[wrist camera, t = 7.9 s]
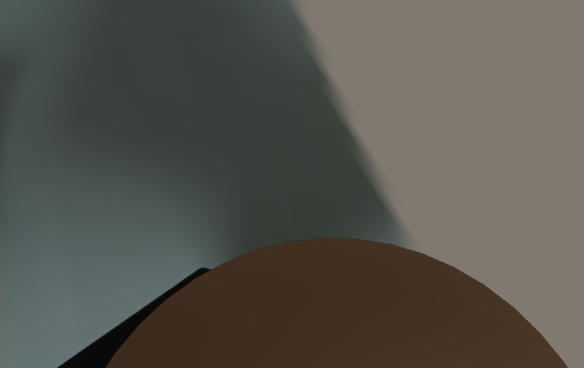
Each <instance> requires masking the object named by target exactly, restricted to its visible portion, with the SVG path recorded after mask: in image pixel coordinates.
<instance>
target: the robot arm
mask: <svg viewBox="0 0 584 368" xmlns="http://www.w3.org/2000/svg"><path fill="white" fill-rule="evenodd" d="M210 270H212V269H208V268H204V267H203V268H200V269H198V270H197V271H195V272H194V273H192V274H191V275H189V276H188V277H187V278H185V279H184V280H182V281H181V282H179V283H178V284H176V285H175V286H174V287H172V288H171V289H169V290H168V291H166V292H165V293H164V294H162V295H161V296H159V297H158V298H156V299H155V300H154V301H152V302H151V303H149V304H148V305H146V306H145V307H143V308H142V309H141V310H139V311H138V312H136V313H135V314H133V315H132V316H131V317H129V318H128V319H126V320H125V321H123V322H122V323H121V324H119V325H118V326H116V327H115V328H113V329H112V330H110V331H109V332H108V333H106V334H105V335H103V336H102V337H100V338H99V339H98V340H96V341H95V342H93V343H92V344H90V345H89V346H88V347H86V348H85V349H83V350H82V351H80V352H79V353H77V354H76V355H75V356H73V357H72V358H70V359H69V360H67V361H66V362H65V363H63V364H62V365H60V366H59V367H57V368H106V367H107V365H108V364H109V362H110V360H111V359H112V357H113V356H114V354H115V353H116V352H117V351H118V349H119V348H120V347H121V346H122V345H123V343H124V342H125V341H126V340H127V339H128V338H129V336H130V335H131V334H132V333H133V332H134V331H135V329H136V328H137V327H138V326H139V325H140V324H141V323H142V322H143V321H144V320H145V319H146V318H147V317H148V316H149V315H150V314H151V313H152V312H154V311H155V310H156V309H157V308H158V307H159V306H160V305H161V304H162V303H163V302H164V301H165V300H167V299H168V298H169V297H171V296H172V295H173V294H175V293H176V292H178V291H179V290H180V289H182V288H183V287H184V286H186V285H187V284H189V283H190V282H191V281H193V280H194V279H196V278H197V277H199V276H201V275H203V274H205V273H207V272H208V271H210Z"/></svg>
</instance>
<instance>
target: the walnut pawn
mask: <svg viewBox="0 0 584 368" xmlns="http://www.w3.org/2000/svg"><path fill="white" fill-rule="evenodd" d="M106 368H568V367H567V366H566V364H565V363H564V361H563V360H562V359H561V358H560V357H559V356H558V354H557V353H556V352H555V351H554V349H553V348H552V347H551V346H550V344H549V343H548V342H547V341H546V340H545V338H544V337H543V336H542V335H541V334H540V332H538V331H537V330H536V329H535V328H534V327H533V326H532V325H531V324H530V323H529V322H528V321H527V320H526V319H525V318H524V317H523V316H522V315H521V314H520V313H519V312H518V311H517V310H516V309H515V308H514V307H513V306H511V305H510V304H509V303H507V302H506V301H505V300H503V299H502V298H501V297H499V296H498V295H497V294H495V293H494V292H493V291H492V290H490V289H489V288H487V287H486V286H485V285H483V284H482V283H480V282H478V281H477V280H475V279H473V278H472V277H470V276H468V275H466V274H465V273H463V272H461V271H460V270H458V269H456V268H454V267H452V266H450V265H448V264H446V263H443V262H441V261H438V260H436V259H434V258H432V257H429V256H427V255H425V254H422V253H419V252H416V251H412V250H409V249H405V248H402V247H398V246H395V245H391V244H386V243H380V242H373V241H367V240H360V239H339V238H320V239H311V240H302V241H292V242H287V243H283V244H279V245H275V246H271V247H267V248H263V249H258V250H256V251H253V252H250V253H248V254H245V255H243V256H240V257H238V258H235V259H232V260H230V261H227V262H225V263H223V264H221V265H220V266H218V267H216V268H214V269H212V270H210V271H208V272H207V273H205V274H203V275H201V276H199V277H197V278H196V279H194V280H193V281H191V282H190V283H189V284H187V285H186V286H184V287H183V288H182V289H180V290H179V291H178V292H176V293H175V294H173V295H172V296H171V297H169V298H168V299H167V300H165V301H164V302H163V303H162V304H161V305H160V306H159V307H158V308H157V309H156V310H155V311H154V312H152V313H151V314H150V315H149V316H148V317H147V318H146V319H145V320H144V321H143V322H142V323H141V324H140V325H139V326H138V327H137V328H136V329H135V331H134V332H133V333H132V334H131V335H130V336H129V338H128V339H127V340H126V341H125V342H124V343H123V345H122V346H121V347H120V348H119V349H118V351H117V352H116V353H115V354H114V356H113V357H112V359H111V360H110V362H109V364H108V365H107V367H106Z"/></svg>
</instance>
